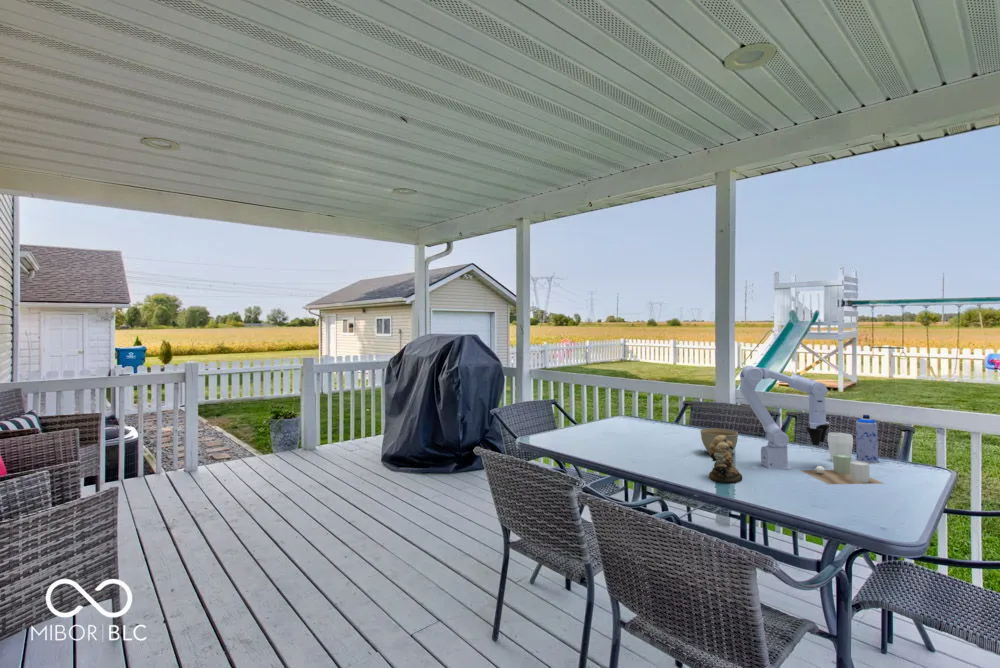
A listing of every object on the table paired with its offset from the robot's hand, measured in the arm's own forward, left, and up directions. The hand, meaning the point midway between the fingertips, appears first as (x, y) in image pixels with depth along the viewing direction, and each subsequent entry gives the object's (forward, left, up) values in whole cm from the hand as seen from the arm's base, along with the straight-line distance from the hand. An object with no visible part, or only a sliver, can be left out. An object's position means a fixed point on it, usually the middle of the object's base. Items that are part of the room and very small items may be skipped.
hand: (818, 443), depth 197 cm
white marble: (-5, -9, -10) cm, 14 cm away
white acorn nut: (+4, -18, -10) cm, 21 cm away
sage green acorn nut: (+5, -7, -10) cm, 13 cm away
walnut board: (0, -13, -10) cm, 17 cm away
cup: (+15, +9, -11) cm, 20 cm away
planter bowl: (-30, +25, -11) cm, 41 cm away
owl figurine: (-43, -11, -11) cm, 46 cm away
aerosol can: (+27, +10, -11) cm, 31 cm away
